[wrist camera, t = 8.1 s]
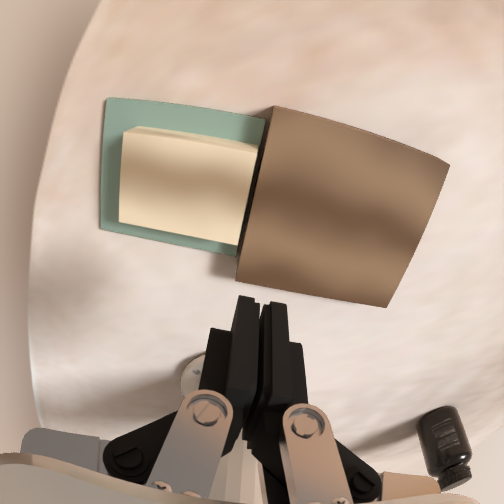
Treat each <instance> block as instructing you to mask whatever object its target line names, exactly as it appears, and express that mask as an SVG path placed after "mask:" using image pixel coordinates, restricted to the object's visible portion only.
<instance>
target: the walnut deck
mask: <svg viewBox="0 0 504 504" xmlns="http://www.w3.org/2000/svg"><path fill="white" fill-rule="evenodd" d="M449 167H450V165H449V164H448V163H446V162H444V161H443V160H441V159H439V158H437V157H435V156H433V155H430V154H428V153H425V152H423V151H420V150H418V149H415V148H413V147H410V146H408V145H405V144H402V143H400V142H397V141H394V140H391V139H389V138H386V137H383V136H380V135H377V134H374V133H371V132H368V131H365V130H362V129H359V128H356V127H353V126H349V125H346V124H343V123H339V122H336V121H333V120H329V119H326V118H322V117H318V116H315V115H311V114H307V113H303V112H299V111H295V110H291V109H287V108H283V107H278V106H274V107H273V111H272V116H271V120H270V124H269V129H268V133H267V137H266V142H265V146H264V150H263V155H262V159H261V163H260V168H259V172H258V177H257V181H256V185H255V190H254V194H253V199H252V203H251V208H250V212H249V216H248V221H247V225H246V230H245V234H244V239H243V243H242V248H241V252H240V257H239V261H238V266H237V273H236V280H235V281H238V282H243V283H248V284H254V285H259V286H264V287H269V288H275V289H280V290H285V291H291V292H296V293H302V294H307V295H313V296H318V297H324V298H330V299H335V300H341V301H347V302H353V303H359V304H365V305H371V306H377V307H383V308H387V306H388V304H389V302H390V300H391V299H392V297H393V295H394V293H395V291H396V289H397V287H398V285H399V283H400V281H401V279H402V277H403V275H404V273H405V271H406V269H407V267H408V265H409V263H410V261H411V259H412V257H413V255H414V253H415V250H416V248H417V246H418V244H419V242H420V239H421V237H422V235H423V233H424V230H425V228H426V226H427V224H428V221H429V219H430V216H431V214H432V212H433V209H434V207H435V204H436V202H437V199H438V197H439V194H440V192H441V189H442V186H443V184H444V181H445V178H446V175H447V173H448V170H449Z"/></svg>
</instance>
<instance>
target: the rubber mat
mask: <svg viewBox="0 0 504 504" xmlns="http://www.w3.org/2000/svg"><path fill="white" fill-rule="evenodd" d="M265 121H266V119H262V118H257V117H252V116H247V115H242V114H237V113H232V112H226V111H220V110H214V109H208V108H202V107H195V106H188V105H181V104H173V103H165V102H156V101H147V100H136V99H124V98H107V101H106V110H105V120H104V132H103V145H102V164H101V229H104V230H108V231H113V232H118V233H123V234H128V235H132V236H137V237H142V238H147V239H152V240H157V241H161V242H166V243H171V244H176V245H181V246H186V247H191V248H196V249H201V250H206V251H210V252H215V253H220V254H225V255H230V256H235V257H236V252H237V248H238V245H233V244H228V243H223V242H218V241H213V240H208V239H203V238H198V237H193V236H187V235H182V234H177V233H172V232H167V231H162V230H157V229H152V228H147V227H142V226H137V225H132V224H127V223H122V222H119V194H120V172H121V157H122V144H123V133H124V132H125V131H127V130H130V129H132V128H134V127H137V126H143V127H151V128H159V129H167V130H174V131H181V132H187V133H194V134H200V135H206V136H212V137H217V138H223V139H228V140H234V141H239V142H244V143H249V144H254V145H258V152H259V147H260V143H261V139H262V134H263V130H264V125H265ZM258 152H257V156H258ZM256 161H257V157H256ZM256 161H255V165H256ZM254 170H255V166H254ZM253 174H254V171H253ZM252 179H253V175H252ZM251 183H252V180H251ZM250 188H251V184H250ZM249 192H250V189H249ZM248 197H249V194H248ZM247 201H248V198H247ZM246 206H247V203H246ZM245 211H246V207H245ZM244 215H245V212H244ZM243 220H244V217H243ZM242 224H243V222H242ZM241 229H242V226H241ZM240 234H241V231H240ZM239 238H240V236H239ZM238 243H239V240H238Z"/></svg>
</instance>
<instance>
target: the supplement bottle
mask: <svg viewBox="0 0 504 504" xmlns="http://www.w3.org/2000/svg"><path fill="white" fill-rule="evenodd" d="M416 430H417V434H418V437H419V441H420V445H421V448H422V452H423V456H424V460H425V463H426V467H427V471H428V474H429V475H430V476H432V477H437V478H438V480H437V483H438V484H439V486H440V490H441V492H443V491H447V490H450V489H453V488H455V487H457V486H459V485H461V484H463V483H465V482H467V481H468V480H470V479H471V478H472V475H471V471H470V466H467V463H468V462H469V461H470V459H471V456H472V451H471V447H470V444H469V441H468V438H467V436H466V433H465V430H464V427H463V424H462V422H461V419H460V416H459V414H458V411H457V409H456V408H454V407H452V406H447V407H442V408H439V409H437V410H434V411H432V412H431V413H429V414H427V415H426V416H424V417H423V418H422V419H421V420H420V421H419V422H418V424H417V427H416Z"/></svg>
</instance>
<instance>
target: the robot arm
mask: <svg viewBox="0 0 504 504" xmlns="http://www.w3.org/2000/svg"><path fill="white" fill-rule="evenodd" d="M259 316H260V303H255V299H254V298H251V297H246V296H241V295H239V297H238V301H237V306H236V310H235V314H234V319H233V323H232V327H231V331H226V330H221V329H215V328H211V329H210V334H209V339H208V344H207V348H206V353H205V355H202V356H200V357H198V358H196V359H194V360H193V361H191V362H190V363H189V364H188V365H187V366H186V368H185V369H184V371H183V374H182V377H181V382H180V388H181V392H182V394H183V396H184V400H183V401H182V403H181V405H180V408H179V410H177V411H175V412H173V413H171V414H169V415H167V416H165V417H163V418H161V419H158V420H156V421H154V422H152V423H150V424H148V425H145V426H143V427H141V428H139V429H136V430H134V431H132V432H129V433H127V434H125V435H122V436H120V437H118V438H115V439H114V440H112V441H108V440H100V439H99V437H94V436H87V435H80V434H73V433H67V432H61V431H56V430H50V429H45V428H35V429H32V430H30V431H29V432H27V433H26V434H25V436H24V438H23V441H22V445H21V451H20V453H3V454H0V504H480V503H479V502H477V501H475V500H474V499H472V498H469V497H466V496H462V495H458V494H450V493H447V494H446V493H441V490H440V486H439V484H438V483H437V481H436V480H434V479H433V478H431V477H428V476H417V475H407V474H399V473H391V472H383V473H377V472H376V471H375V470H374V469H373V468H372V467H370V466H369V465H368V464H366V463H365V462H364V461H362V460H361V459H360V458H359V457H357V456H356V455H355V454H354V453H352V452H351V451H350V450H348V449H347V448H346V447H345V446H343V445H342V444H341V443H340V442H339V441H337V440H336V439H335V438H334V435H333V432H332V428H331V425H330V422H329V420H328V418H327V416H326V414H325V413H324V412H323V411H322V410H320V409H319V408H317V407H316V406H313V405H310V404H308V396H307V386H306V376H305V366H304V357H303V348H302V345H301V343H295V342H289V329H288V315H287V305H286V304H283V303H278V302H272V301H271V302H270V304H269V305H266V304H264V306H263V309H262V312H261V316H260V319H259Z"/></svg>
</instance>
